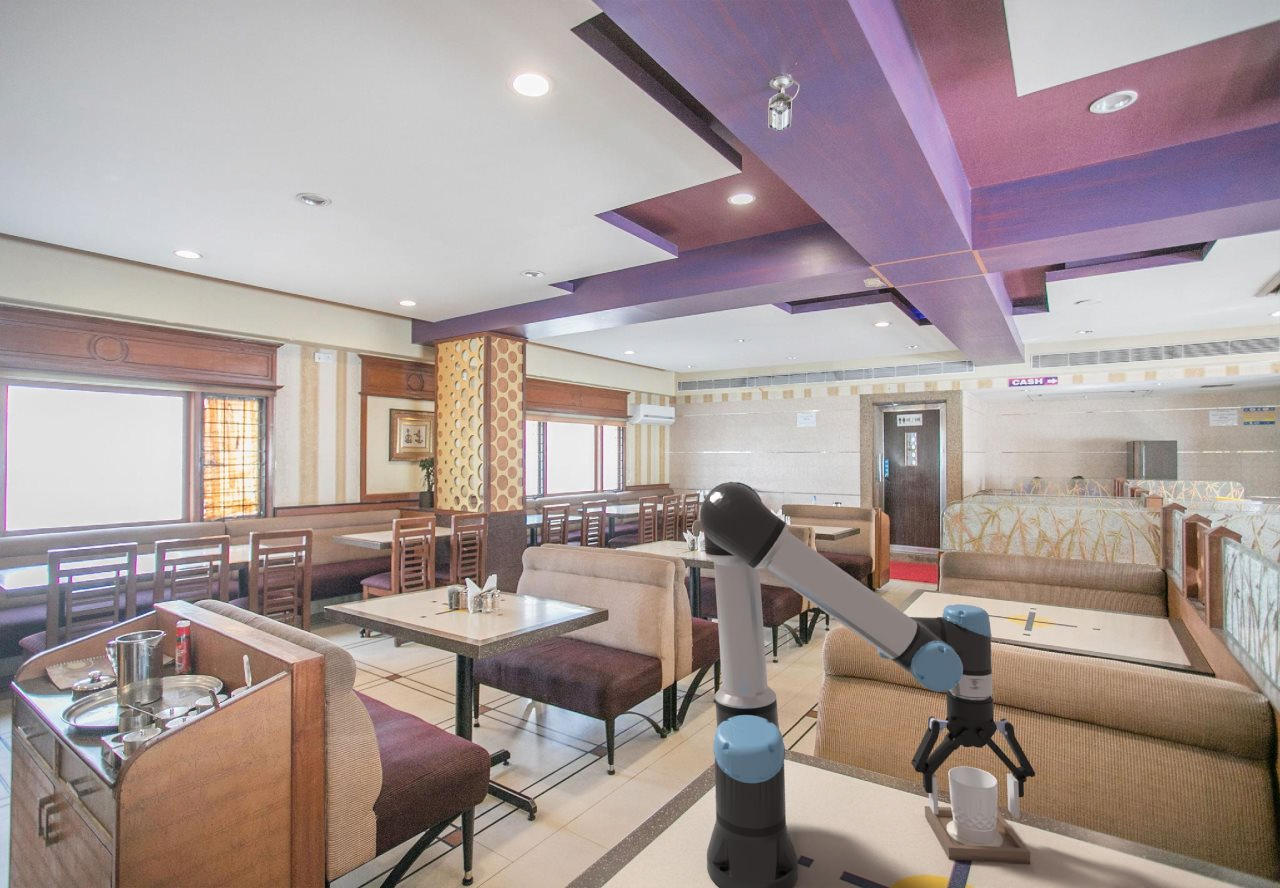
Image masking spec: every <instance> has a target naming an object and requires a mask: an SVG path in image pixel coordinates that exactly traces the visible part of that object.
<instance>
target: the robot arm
mask: <svg viewBox="0 0 1280 888" xmlns="http://www.w3.org/2000/svg"><path fill="white" fill-rule="evenodd" d="M699 519H700V525H701V528H702V530H703V537H704V552H705V555H706V557H708V558H709V559H710V560H711V561H712V562H713V567H714V582H715V584H714V585H715V596H716V613H717V624H718V625H717V626H718V629H717V630H718V641H719V656H720V657H719V658H720V659H719V660H720V670H721V672H720V673H721V687H720V688H719V689H718V691H716V693H715V694H714V697H715V700H714V701H715V715H716V730H715V734H714V739H713V745H712V746H713V747H712V748H713V749H712V752H713V756H714V777H715V779H714V781H715V782H714V783H715V785H714V786H715V817H716V819H715V823H714V827H713V830H712V833H711V836H710V839H709V843H708V846H707V852H706V868H707V873H708V875H709V877H710V879H711V880H712V881H713V883H714V884H715V885H717V886H718V887H719V888H793V887H794V886H795V885H796V884H797V881H798V878H799V866H798V865H799V862H798V856H797V853H796V850H795V847H794V844H793V841H792V839H791V836H790V833H789V829H788V826H787V820H786V818H787V817H786V783H785V782H786V781H785V777H786V776H785V774H786V773H785V758H786V746H785V743H784V737H783V735H782V732H781V730H780V725H779V714H778V702H777V693H776V692H775V691H774V690H773V689H772V688H771V687H770V686H769V685H768V674H767V662H766V661H767V660H766V645H765V631H764V616H763V603H762V601H763V600H762V589H761V588H762V587H761V576H760V575H761V574H760V569H761V570H762V569H764V571H767V572H768V573H770V574H771V575H773V576H774V577H775V578H776V579H778V580H780V581H781V583H784V584H785V585H787V586H788V587H789V588H791V589H792V590H793V591H794V592H796V593H797V594H799V595H800V596H802V597H803V598H804V599H806V600H807V601H808V602H810V603H812V604H813V605H814V606H816V607H818V608H819V610H821V611H823V612H824V613H826V614H827V615H828V616H830V617H831V618H832V619H834V620H836V622H839V624H841V625H843V626H844V627H845V628H847V629H848V630H850V631H851V632H852V633H853V634H855V635H857V636H858V637H859V638H861V639H862V640H863V641H865V642H866V643H868V644H869V645H870V646H872V647H873V648H874V649H876V651H877V654H878V655H879V656H880V657H881V658H882V659H884V660H885V659H886V660H891V661H893V663H895V664H897V665H898V666H899V667H901V668H902V669H904V670H905V672H907V673H909V674H910V675H911V676H913V678H914V680H915V681H916V682H917V683H919V684H920V685H921V686H923V687H924V688H925V689H927V690H929V691H932V692H937V693H943V692H946V697H945V698H946V712H947V713H946V719H938V718H936V717H934V716H933V715H932V716H929V717H928V721H927V722H928V723H927V728H926V730H925V733H924V735H923V737H922V739H921V742H920V744H919V745H918V747H917V749H916V751H915V753H914V755H913V758H912V759H911V765H912V767H913V768H914V771H915V772H916V773H921V774H922V788H923V789H924V791H925V793H926V794H928V806H930V808H931V810H932V812H933V813H934V814H938V807H939V796H938V795H939V794H938V792H939V790H938V777H937V775H936V774H935V773H936V772H937V770H938V769H939V768H940V767H941V766H942V764H944V763H945V761H946V760H947V759H948V758H949V757H950V755H951V754H952V753H953V752H954V751H956V750H958V749H959V747H961V746H962V747H964V748H972V747H975V748H977V749H979V748H980V749H983V747H985V746H986V745H987V746H988V747H989V749H991V750H992V752H993V753H994V754H995V755H996V756H997V757H998V759H1000V760H1001V762H1002V763H1003V764H1004V765H1005V767H1007V769H1009V771H1010V772H1011V773H1006V782H1007V783H1006V784H1007V785H1006V786H1007V787H1006V788H1007V810H1008V811H1009V813H1010V814H1011V815H1012V817H1013V818H1014V819H1020V817H1021V816H1020V798H1024V796H1025V787H1024V783H1026V782H1027V778H1028V777H1031V778H1034V777H1035V776H1036V772H1035V770H1034V768H1033V767H1032V765H1031V763H1030V761H1029V759H1028V757H1027V755H1026V754H1025V752H1024V751H1023V748H1022V746H1021V745H1020V743H1019V741H1018V739H1017V738H1016V734H1015V728H1014V724H1012V723H1011V722H1010V721H1009V720H1008V719H1006V718H1001V720H999V721H998V720H997V721H995V720H994V717H995V716H994V713H995V711H994V698H993V697H992V695H993V694H994V693H993V671H992V669H993V668H992V633H991V632H992V630H991V622H990V615H989V613H988V612H987V610H985V609H983V608H981V607H980V606H976V605H975V606H974V605H971V604H957V603H956V604H948V605H946V606H945V607H944V608H943V613H942V616H938V617H928V616H927V617H926V616H925V617H919V616H908V615H907V614H905V613H904V612H903V611H901V610H900V609H898V608H897V607H896V606H894V604H893V605H892V604H891V603H890V602H888V601H887V600H886V599H884V598H883V597H881V596H880V595H879V594H877V593H875V592H874V591H873V590H871V589H870V588H868V587H867V586H866V585H865V584H864V583H861V581H859V580H857V579H856V578H854V576H852V575H851V574H849V573H848V572H846V571H844V570H843V569H842V568H841V567H839V566H838V565H836V564H835V563H833V562H832V561H831V560H829V559H827V558H826V557H825V556H824V555H822V554H821V553H819V552H818V551H817V550H815V549H814V548H812V547H810V546H809V545H807V544H806V543H805V542H803V541H802V540H800V538H798V537H796V536H795V535H794V534H792V533H791V532H790V531H789V528H788V523H787V522H786V521H784V520H783V519H781V518H780V517H778V516H777V515H776V514H774V513H773V512H772V511H771V510H770V508H768V507H767V506H766V505H765V504H764V503H763V502H762V498H761V497H760V495H759V493H758V492H756V490H755V489H754V488H752V487H751V486H749V485H748V484H745V483H743V482H739V481H736V482H735V481H728V482H723V483H720V484H718V485H716V486H715V487H713V488H711V490H709V492H708V494H707V495H706V496H705V498H704V500H703V501H702V505H701V507H700V511H699ZM944 729H947V730H948V732H947V734H945V735H944V737H943V740H942V741H941V743H939V745H938V746H937V747H936V748H935V749H934V747H935V745H936V743H937V741H938V738H939V736H940V734H941V733H943V730H944ZM997 730H998V732H999V733H1000V734H1002V736H1004V738H1005V740H1006V742H1007V744H1008V746H1009V747H1010V749H1011V751H1012V753H1013V754H1014V757H1015V758H1016V761H1017V762H1018V763H1019V767H1018V766H1016V765H1015V764H1014V762H1013V761H1012V760H1011V758H1009V757H1008V756H1007V754H1006V753H1005V752H1004V751H1003V750H1002V749H1001V748H1000V747H999V745H998V744H997V743H996V742H995V741H994V740H993V739H992V738H993V736H995V733H996V732H997ZM933 749H934V750H933ZM932 751H933V752H932ZM931 752H932V753H931Z"/></svg>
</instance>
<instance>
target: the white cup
mask: <svg viewBox="0 0 1280 888" xmlns="http://www.w3.org/2000/svg"><path fill="white" fill-rule="evenodd" d="M947 774H948V784H949V785H948V788H949V799H950V807H951V809H952V815H953V824H954V831H955V832H956V833H957V834H958V835H959V836H960V837H962V838H963V839H965V840H967V841H970V842H974V843H980V844H987V843H992V842H993V841H994V840H995V839H996V822H997V810H998V792H999V791H998V788H999V787H998V784H999V783H998V779H997V778H996V777H995V776H994V775H993V774H992V773H989V772H988V771H986V770H983V769H980V768H977V767H972V766H964V765H963V766H962V765H961V766H955V767H952V768H950V769H949V770H948V772H947Z"/></svg>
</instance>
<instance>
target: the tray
mask: <svg viewBox="0 0 1280 888" xmlns="http://www.w3.org/2000/svg"><path fill="white" fill-rule="evenodd" d="M924 818H925V819H926V821H927V822H928V824H929V826H930V828H931V831H933V834H934V835H935V837H936V839H937V840H938V843H939V844H940V846H941V848H942V850H943V851H944V853H945V855H946V857H947V859H948V860H953V861H954V860H955V861H956V860H957V861H968V862H969V861H970V862H972V861H974V862H986V863H987V862H989V863H1003V864H1004V863H1005V864H1006V863H1007V864H1018V865H1019V864H1021V865H1022V864H1023V865H1031V851H1030V850H1029V849H1028V847H1027V846H1026V845H1025V844H1024V843H1023V841H1022V840H1021V838H1020V837H1019V836H1018V835H1017V833H1016V832H1015V831H1014V830H1013V829H1012V827H1011V825H1010V824H1009V823H1008V822H1007V820H1006V819H1005V818H1004V817H1003V815H1002V813H1000V811H999V810H998V809H997V822H996V839H995V840H994V841H993V842H992V843H987V844H980V843H974V842H970V841H967V840H965V839H963V838H962V837H960V836H959V835H958V834H957V833H956V832H955V831H954V824H953V815H952V809H951V806H950V807H948V806H938V814H934V813H933V812H932V810H931V808H930V806H929V805H928V806H927V805H925V806H924Z"/></svg>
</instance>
